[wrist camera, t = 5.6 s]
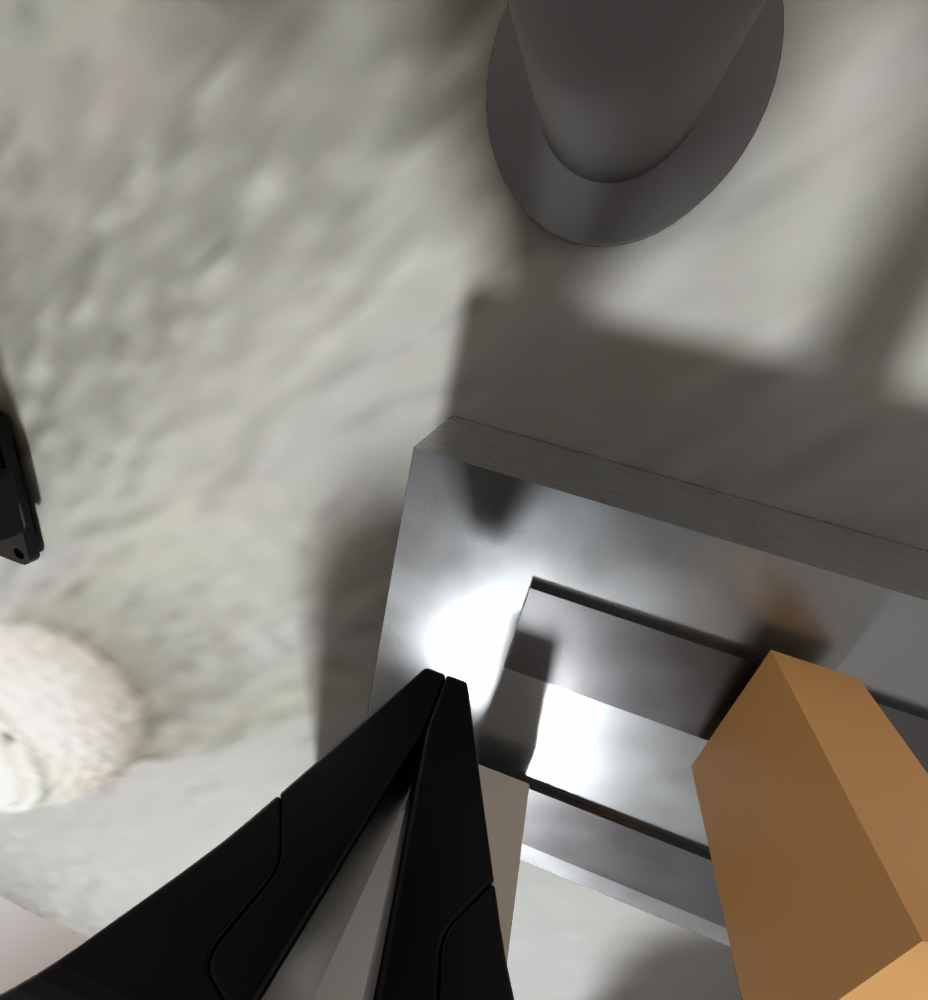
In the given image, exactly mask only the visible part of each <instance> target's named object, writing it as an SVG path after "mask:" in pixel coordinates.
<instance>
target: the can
mask: <svg viewBox="0 0 928 1000" xmlns="http://www.w3.org/2000/svg"><path fill="white" fill-rule="evenodd" d="M403 814H404V810H401V811H400V813H399V815H398V817H397V820H396V822H395V824H394V826H393V828H392V830H391V832H390V835H389V837H388V839H387V841H386V843H385V845H384V847H383V849H382V852H381V854H380V856H379V858H378V860H377V862H376V864H375V867H374V869H373V871H372V873H371V875H370V877H369V879H368V882H367V884H366V886H365V888H364V890H363V892H362V894H361V897H360V899H359V901H358V903H357V905H356V907H355V909H354V912H353V914H352V916H351V918H350V920H349V922H348V924H347V926H346V929H345V931H344V933H343V935H342V937H341V939H340V941H339V944H338V946H337V948H336V950H335V952H334V954H333V956H332V959H331V961H330V963H329V965H328V967H327V969H326V971H325V974H324V976H323V978H322V980H321V982H320V984H319V986H318V989H317V991H316V993H315V995H314V997H313V999H312V1000H363V995H364V991H365V986H366V982H367V977H368V973H369V968H370V964H371V959H372V954H373V950H374V945H375V941H376V936H377V932H378V927H379V923H380V918H381V914H382V909H383V905H384V900H385V896H386V891H387V887H388V882H389V878H390V873H391V869H392V864H393V860H394V855H395V851H396V846H397V842H398V837H399V832H400V828H401V823H402V819H403Z"/></svg>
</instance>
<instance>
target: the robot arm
mask: <svg viewBox="0 0 928 1000" xmlns="http://www.w3.org/2000/svg"><path fill="white" fill-rule="evenodd" d="M0 556H2V557H5V558H7V559H10V560H12V561H15V562H18V563H20V564H24V565H26V564H28V563H30V562H33V561H35V560H37V559H39V557H40V552H39V548H38V544H37V540H36V536H35V531H34V527H33V523H32V519H31V515H30V510H29V506H28V502H27V498H26V494H25V489H24V485H23V481H22V477H21V472H20V468H19V464H18V460H17V456H16V451H15V447H14V443H13V439H12V435H11V430H10V426H9V423H8V421H7V419H6V418H5V416H4V415H3V414H2V413H1V412H0ZM410 786H411V787H410ZM409 789H410V791H409ZM408 792H409V794H408ZM407 795H408V798H407V802H406V806H405V810H404V814H403V819H402V823H401V828H400V832H399V837H398V842H397V846H396V851H395V855H394V860H393V864H392V869H391V873H390V878H389V882H388V887H387V891H386V896H385V900H384V905H383V909H382V914H381V918H380V923H379V927H378V932H377V936H376V941H375V945H374V950H373V954H372V959H371V964H370V968H369V973H368V977H367V982H366V986H365V991H364V995H363V1000H514V997H513V992H512V988H511V983H510V978H509V973H508V968H507V963H506V957H505V950H504V944H503V938H502V932H501V926H500V919H499V912H498V905H497V897H496V890H495V886H494V885H492V884H493V882H494V877H493V870H492V862H491V855H490V847H489V840H488V832H487V825H486V817H485V810H484V803H483V795H482V788H481V780H480V773H479V765H478V758H477V751H476V743H475V736H474V728H473V721H472V713H471V706H470V698H469V691H468V685H467V683H466V682H465V681H463V680H460V679H457V678H455V677H452V676H447V677H446V678H445V675H444V674H443V673H440V672H438V671H435V670H432V669H429V668H425V669H424V670H422V671H421V672H420V673H419V674H417V675H416V676H415V677H414V678H413V679H412V680H411V681H409V682H408V683H407V684H406V685H405V686H404V687H403V688H401V689H400V690H399V691H398V692H397V693H396V694H394V695H393V696H392V697H391V698H390V699H389V700H388V701H386V702H385V703H384V704H383V705H382V706H381V707H380V708H378V709H377V710H376V711H375V712H374V713H373V714H371V715H370V716H369V717H368V718H367V719H366V720H365V721H363V722H362V723H361V724H360V725H359V726H358V727H357V728H355V729H354V730H353V731H352V732H351V733H350V734H348V735H347V736H346V737H345V738H344V739H343V740H342V741H340V742H339V743H338V744H337V745H336V746H335V747H334V748H332V749H331V750H330V751H329V752H328V753H327V754H325V755H324V756H323V757H322V758H321V759H320V760H319V761H317V762H316V763H315V764H314V765H313V766H312V767H311V768H309V769H308V770H307V771H306V772H305V773H304V774H302V775H301V776H300V777H299V778H298V779H297V780H296V781H294V782H293V783H292V784H291V785H290V786H289V787H288V788H286V789H285V790H284V791H283V792H282V793H281V795H280V798H279V797H276V798H275V799H273V800H272V801H271V802H270V803H269V804H268V805H266V806H265V807H264V808H263V809H262V810H261V811H260V812H258V813H257V814H256V815H255V816H254V817H253V818H251V819H250V820H249V821H248V822H247V823H245V824H244V825H243V826H242V827H240V828H239V829H238V830H237V831H236V832H234V833H233V834H232V835H231V836H230V837H228V838H227V839H226V840H225V841H223V842H222V843H221V844H220V845H218V846H217V847H216V848H214V849H213V850H212V851H210V852H209V853H208V854H206V855H205V856H204V857H202V858H201V859H199V860H198V861H197V862H195V863H194V864H193V865H191V866H190V867H189V868H187V869H186V870H185V871H183V872H182V873H181V874H179V875H178V876H176V877H175V878H174V879H172V880H171V881H169V882H168V883H167V884H165V885H164V886H162V887H161V888H160V889H158V890H157V891H155V892H154V893H153V894H151V895H150V896H148V897H147V898H146V899H144V900H143V901H141V902H140V903H139V904H137V905H136V906H134V907H133V908H132V909H130V910H129V911H127V912H126V913H125V914H123V915H122V916H120V917H119V918H118V919H116V920H115V921H113V922H112V923H111V924H109V925H108V926H106V927H105V928H104V929H102V930H101V931H99V932H98V933H97V934H95V935H94V936H92V937H91V938H90V939H88V940H87V941H85V942H84V943H83V944H81V945H80V946H78V947H77V948H75V949H74V950H73V951H71V952H70V953H68V954H67V955H65V956H64V957H62V958H61V959H60V960H58V961H57V962H55V963H54V964H52V965H50V966H49V967H47V968H46V969H44V970H42V971H41V972H39V973H38V974H36V975H34V976H33V977H31V978H30V979H28V980H26V981H24V982H22V983H21V984H19V985H17V986H16V987H14V988H12V989H10V990H8V991H6V992H4V993H2V994H0V1000H312V999H313V997H314V995H315V993H316V991H317V989H318V986H319V984H320V982H321V980H322V978H323V976H324V974H325V971H326V969H327V967H328V965H329V963H330V961H331V959H332V956H333V954H334V952H335V950H336V948H337V946H338V944H339V941H340V939H341V937H342V935H343V933H344V931H345V929H346V926H347V924H348V922H349V920H350V918H351V916H352V914H353V912H354V909H355V907H356V905H357V903H358V901H359V899H360V897H361V894H362V892H363V890H364V888H365V886H366V884H367V882H368V879H369V877H370V875H371V873H372V871H373V869H374V867H375V864H376V862H377V860H378V858H379V856H380V854H381V852H382V849H383V847H384V845H385V843H386V841H387V839H388V837H389V835H390V832H391V830H392V828H393V826H394V824H395V822H396V820H397V817H398V815H399V813H400V811H401V809H402V806H403V804H404V802H405V800H406V797H407Z"/></svg>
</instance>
